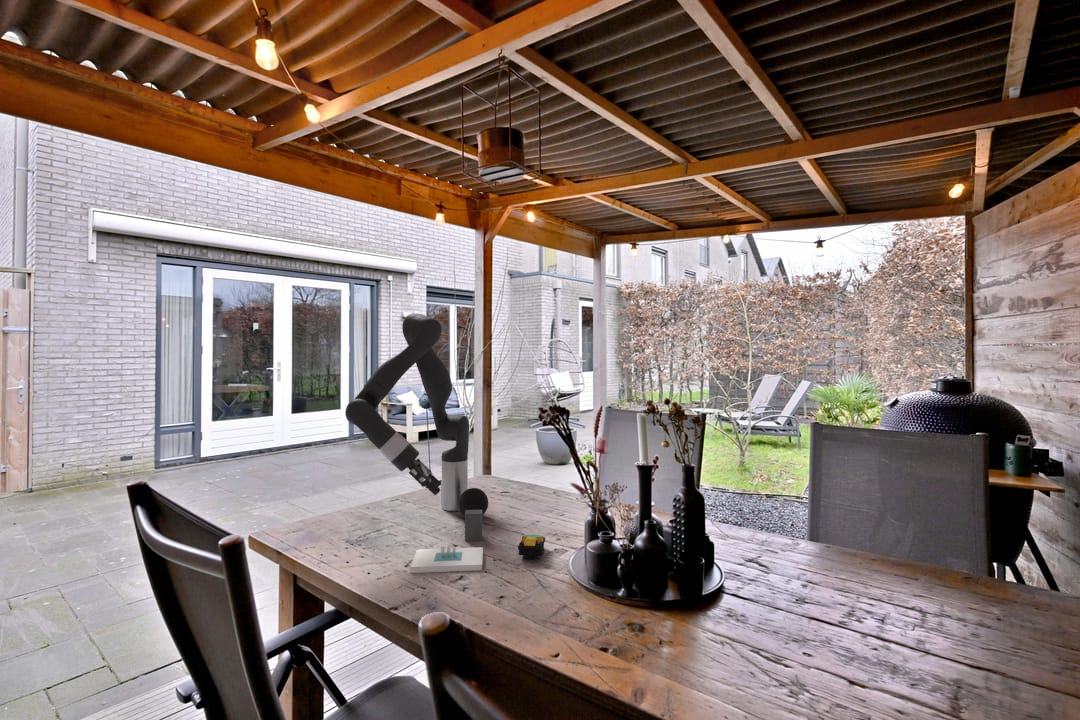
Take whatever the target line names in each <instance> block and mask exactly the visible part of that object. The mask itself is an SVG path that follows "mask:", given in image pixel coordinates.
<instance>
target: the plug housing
mask: <svg viewBox="0 0 1080 720" xmlns="http://www.w3.org/2000/svg"><path fill="white" fill-rule="evenodd" d="M478 541H480V542H481V541H483V515H482V510H466V511H465V516H464V542H478Z"/></svg>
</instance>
